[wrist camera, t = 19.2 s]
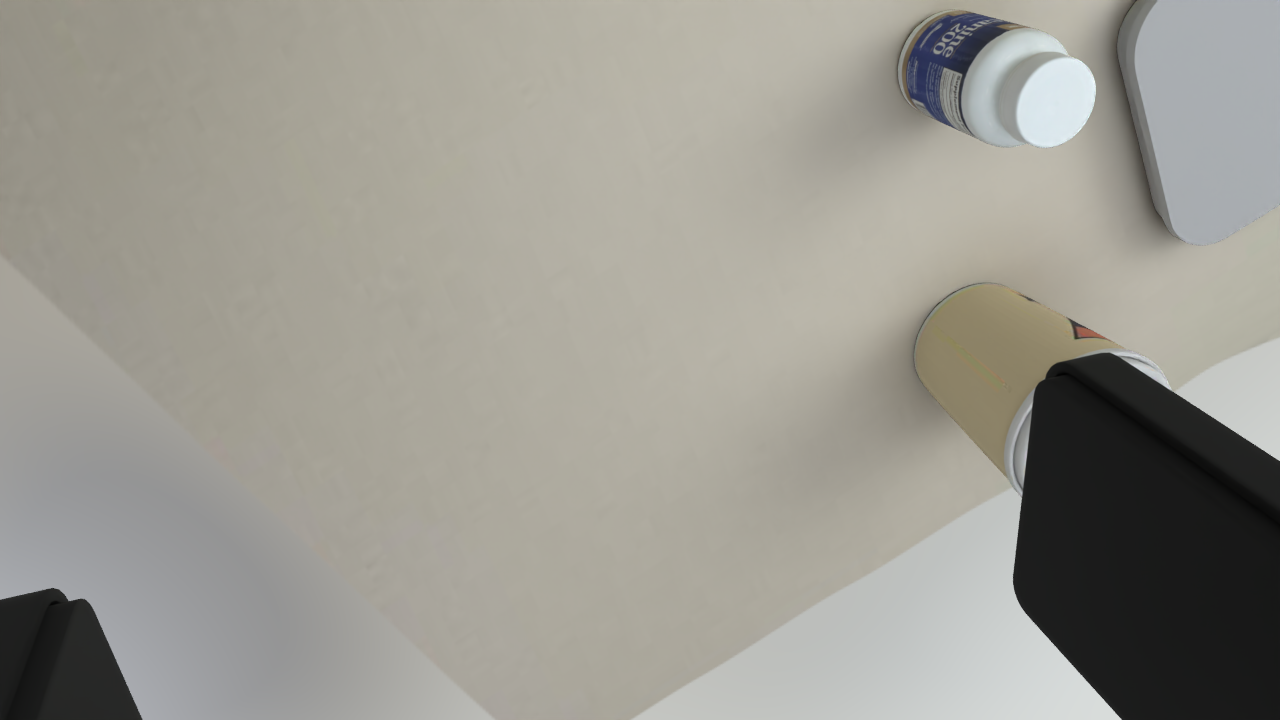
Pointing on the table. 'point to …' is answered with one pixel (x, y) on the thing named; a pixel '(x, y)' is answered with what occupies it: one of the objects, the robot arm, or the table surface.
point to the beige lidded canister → (1002, 365)
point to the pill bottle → (995, 80)
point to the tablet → (1205, 110)
